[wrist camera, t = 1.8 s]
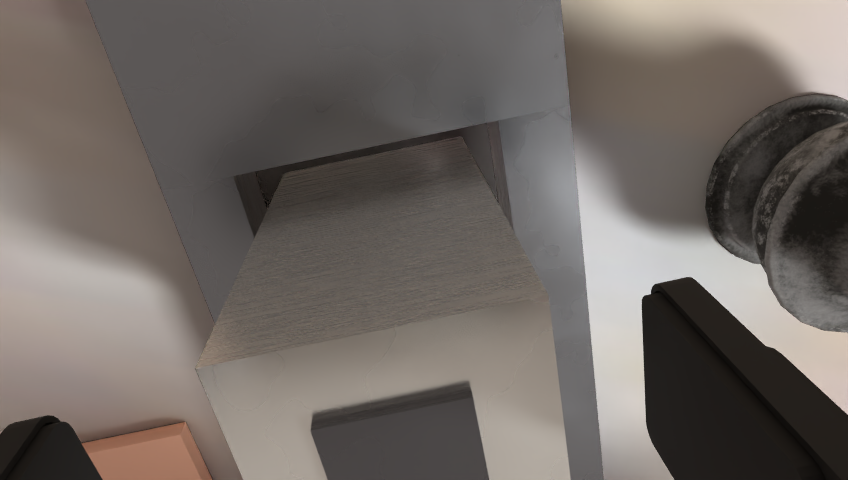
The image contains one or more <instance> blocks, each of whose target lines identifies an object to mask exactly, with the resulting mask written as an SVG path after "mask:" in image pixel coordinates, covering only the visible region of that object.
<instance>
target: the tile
mask: <svg viewBox="0 0 848 480" xmlns="http://www.w3.org/2000/svg"><path fill="white" fill-rule="evenodd" d="M81 444H82V445H83V447H84V449H85V450H86V452H87V454H88V455H89V457H90V459H91V461H92V462H93V464H94V466H95V467H96V469H97V471H98V472H99V474H100V476H101V478H102V479H103V480H212V478H211V476H210V474H209V471H208V469H207V467H206V465H205V463H204V461H203V458H202V456H201V454H200V452H199V450H198V448H197V445H196V443H195V441H194V439H193V437H192V435H191V432H190V430H189V428H188V426H187V424H186V422H183V423H178V424H173V425H168V426H163V427H159V428H154V429H149V430H144V431H139V432H134V433H129V434H125V435H120V436H115V437H110V438H105V439H100V440H95V441H91V442H86V443H81Z"/></svg>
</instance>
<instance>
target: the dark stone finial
mask: <svg viewBox="0 0 848 480" xmlns="http://www.w3.org/2000/svg"><path fill="white" fill-rule="evenodd" d="M706 212H707V216H708V221H709V225H710V228H711V230H712V231H713V233H714V235H715V236H716V238H717V240H718V241H719V243H720V244H721V245H723V246H724V247H725V248H726V249H727V250H729V251H730V252H731V253H732V254H733V255H735V256H736V257H739V258H741V259H744V260H746V261H749V262H751V263H755V264H761V265H762V267H763V268H764V270H765V272H766V274H767V278H768V283H769V286H770V288H771V290H772V291H773V293H774V295H775V296H776V298H777V300H778V302H779V303H780V305H781V306H782V307H783V308H785V309H786V310H787V311H788V312H789V313H791V314H792V315H793V316H794V317H795V318H797V319H798V320H799V321H800V322H802V323H805V324H808V325H810V326H813V327H816V328H818V329H821V330H824V331H835V332H848V101H847V100H845V99H843V98H841V97H835V96H827V95H820V94H813V95H806V96H800V97H793V98H790V99H788V100H785V101H783V102H780V103H778V104H775V105H773V106H770V107H768V108H767V109H765V110H764V111H762V112H761V113H759V114H758V115H756V116H755V117H754V118H752V119H751V120H749V121H748V122H746V123H745V124H744V125H743V126H742V128H741V129H740V130H739V131H738V132H737V133H736V134H735V135H734V136H733V137H732V138H731V139H730V140H729V141H728V142H727V144H726V146H725V147H724V149H723V151H722V152H721V154H720V156H719V157H718V159H717V160H716V162H715V164H714V167H713V170H712V173H711V176H710V179H709V182H708V185H707V194H706Z"/></svg>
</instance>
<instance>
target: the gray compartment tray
mask: <svg viewBox="0 0 848 480" xmlns="http://www.w3.org/2000/svg"><path fill="white" fill-rule="evenodd" d="M86 3H87V5H88V8H89V10H90V13H91V15H92V18H93V20H94V23H95V25H96V28H97V30H98V33H99V35H100V38H101V40H102V43H103V45H104V48H105V50H106V53H107V55H108V58H109V60H110V63H111V65H112V68H113V70H114V73H115V75H116V78H117V80H118V83H119V85H120V88H121V90H122V93H123V95H124V98H125V100H126V103H127V105H128V108H129V110H130V113H131V115H132V118H133V120H134V123H135V125H136V128H137V130H138V133H139V135H140V138H141V140H142V143H143V145H144V148H145V150H146V153H147V155H148V158H149V160H150V163H151V165H152V168H153V170H154V173H155V175H156V178H157V180H158V183H159V185H160V188H161V190H162V193H163V195H164V198H165V200H166V203H167V205H168V208H169V210H170V213H171V215H172V218H173V220H174V223H175V225H176V228H177V230H178V233H179V235H180V238H181V240H182V243H183V245H184V248H185V250H186V253H187V255H188V258H189V260H190V263H191V265H192V268H193V270H194V273H195V275H196V278H197V280H198V283H199V285H200V288H201V290H202V293H203V295H204V298H205V300H206V303H207V305H208V308H209V310H210V313H211V315H212V318H213V320H214V323H215V324H216V321H217V319H218V317H219V315H220V313H221V311H222V308H223V306H224V304H225V302H226V300H227V297H228V295H229V293H230V291H231V289H232V286H233V284H234V282H235V280H236V278H237V275H238V273H239V271H240V269H241V267H242V264H243V262H244V260H245V258H246V256H247V253H248V251H249V249H250V247H251V245H252V242H253V240H254V238H255V236H256V234H257V232H258V229H259V227H260V225H261V223H262V221H263V218H264V216H265V214H266V212H267V207H266V204H265V201H264V198H263V195H262V192H261V189H260V186H259V183H258V180H257V177H256V174H255V171H259V170H264V169H269V168H274V167H278V166H283V165H288V164H293V163H297V162H302V161H307V160H312V159H316V158H321V157H326V156H331V155H336V154H340V153H345V152H350V151H355V150H359V149H364V148H369V147H374V146H379V145H383V144H388V143H393V142H398V141H402V140H407V139H412V138H417V137H421V136H426V135H431V134H436V133H441V132H445V131H450V130H455V129H460V128H464V127H469V126H474V125H479V124H483V123H487V126H488V133H489V140H490V147H491V153H492V160H493V167H494V173H495V180H496V187H497V193H498V200H499V206H500V208H501V210H502V211H503V213H504V215H505V217H506V219H507V220H508V222H509V224H510V226H511V228H512V230H513V231H514V233H515V235H516V237H517V239H518V241H519V242H520V244H521V246H522V248H523V250H524V251H525V253H526V255H527V257H528V259H529V261H530V262H531V264H532V266H533V268H534V270H535V272H536V273H537V275H538V277H539V279H540V281H541V283H542V284H543V286H544V288H545V290H546V292H547V293H548V296H549V304H550V312H551V320H552V329H553V337H554V345H555V354H556V362H557V370H558V378H559V387H560V395H561V403H562V411H563V420H564V428H565V436H566V445H567V453H568V461H569V469H570V478H571V480H604V479H603V468H602V457H601V446H600V434H599V423H598V412H597V401H596V390H595V379H594V368H593V356H592V345H591V334H590V323H589V312H588V301H587V290H586V278H585V267H584V256H583V245H582V234H581V223H580V212H579V201H578V189H577V178H576V167H575V156H574V145H573V134H572V123H571V111H570V100H569V89H568V78H567V67H566V56H565V45H564V34H563V22H562V11H561V0H86Z"/></svg>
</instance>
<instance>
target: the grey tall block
mask: <svg viewBox="0 0 848 480" xmlns="http://www.w3.org/2000/svg"><path fill="white" fill-rule="evenodd" d="M195 369H196V372H197V374H198V376H199V379H200V381H201V383H202V386H203V388H204V390H205V393H206V395H207V397H208V399H209V402H210V404H211V406H212V409H213V411H214V413H215V416H216V418H217V420H218V423H219V425H220V427H221V430H222V432H223V434H224V437H225V439H226V441H227V443H228V446H229V448H230V450H231V453H232V455H233V457H234V460H235V462H236V464H237V467H238V469H239V471H240V474H241V476H242V478H243V480H571V478H570V469H569V461H568V453H567V445H566V436H565V428H564V420H563V411H562V403H561V395H560V387H559V378H558V370H557V362H556V354H555V345H554V337H553V329H552V320H551V312H550V304H549V296H548V293H547V292H546V290H545V288H544V286H543V284H542V283H541V281H540V279H539V277H538V275H537V273H536V272H535V270H534V268H533V266H532V264H531V262H530V261H529V259H528V257H527V255H526V253H525V251H524V250H523V248H522V246H521V244H520V242H519V241H518V239H517V237H516V235H515V233H514V231H513V230H512V228H511V226H510V224H509V222H508V220H507V219H506V217H505V215H504V213H503V211H502V210H501V208H500V206H499V204H498V202H497V200H496V199H495V197H494V195H493V193H492V191H491V189H490V188H489V186H488V184H487V182H486V180H485V179H484V177H483V175H482V173H481V171H480V169H479V168H478V166H477V164H476V162H475V160H474V158H473V157H472V155H471V153H470V151H469V149H468V147H467V146H466V144H465V142H464V140H463V138H462V137H461V136H459V137H454V138H450V139H445V140H440V141H435V142H430V143H426V144H421V145H416V146H411V147H406V148H402V149H397V150H392V151H387V152H383V153H378V154H373V155H368V156H363V157H359V158H354V159H349V160H344V161H340V162H335V163H330V164H325V165H320V166H316V167H311V168H306V169H301V170H296V171H292V172H287V173H284V174H283V177H282V179H281V181H280V183H279V185H278V188H277V190H276V192H275V194H274V196H273V199H272V201H271V203H270V205H269V207H268V210H267V212H266V214H265V216H264V218H263V221H262V223H261V225H260V227H259V229H258V232H257V234H256V236H255V238H254V240H253V242H252V245H251V247H250V249H249V251H248V253H247V256H246V258H245V260H244V262H243V264H242V267H241V269H240V271H239V273H238V275H237V278H236V280H235V282H234V284H233V286H232V289H231V291H230V293H229V295H228V297H227V300H226V302H225V304H224V306H223V308H222V311H221V313H220V315H219V317H218V319H217V321H216V324H215V326H214V328H213V330H212V332H211V335H210V337H209V339H208V341H207V343H206V346H205V348H204V350H203V352H202V354H201V357H200V359H199V361H198V363H197V365H196V368H195Z"/></svg>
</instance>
